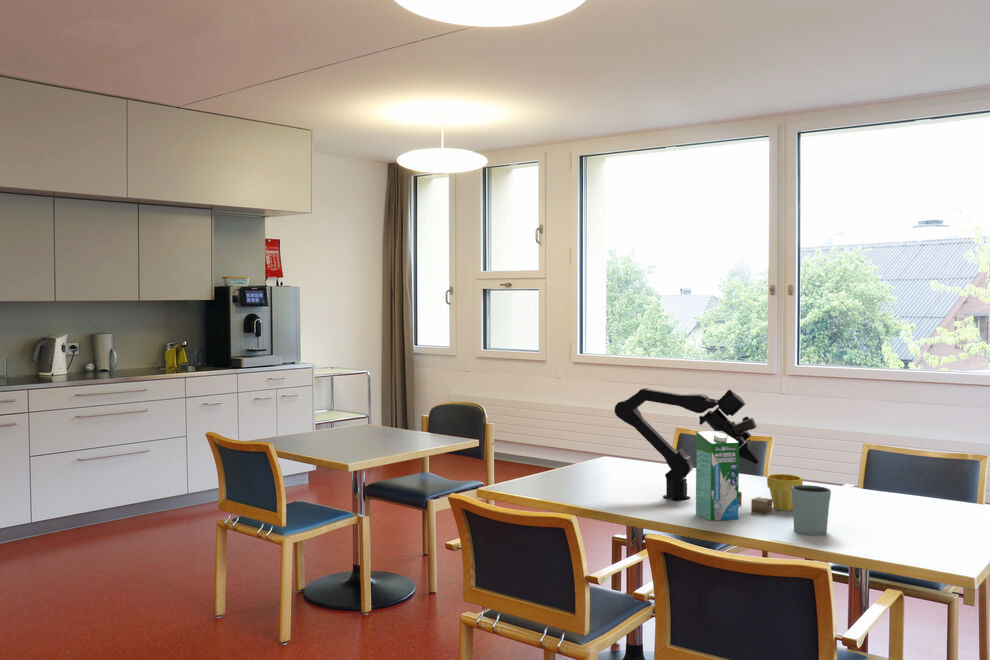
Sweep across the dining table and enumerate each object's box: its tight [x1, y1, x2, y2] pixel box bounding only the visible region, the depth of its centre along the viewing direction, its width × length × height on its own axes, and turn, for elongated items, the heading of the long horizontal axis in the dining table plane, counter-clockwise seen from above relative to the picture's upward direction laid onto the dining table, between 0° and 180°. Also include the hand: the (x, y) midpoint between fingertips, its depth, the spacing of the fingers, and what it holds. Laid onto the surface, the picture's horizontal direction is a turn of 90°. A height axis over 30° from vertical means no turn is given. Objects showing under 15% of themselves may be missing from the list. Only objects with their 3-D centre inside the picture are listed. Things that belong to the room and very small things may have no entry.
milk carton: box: [695, 430, 740, 522], centre depth 242 cm, size 9×9×25 cm
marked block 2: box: [750, 496, 773, 515], centre depth 248 cm, size 4×4×4 cm
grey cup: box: [792, 484, 832, 536], centre depth 225 cm, size 10×10×12 cm
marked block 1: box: [738, 491, 743, 505], centre depth 260 cm, size 4×4×4 cm
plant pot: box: [766, 473, 804, 511], centre depth 253 cm, size 10×10×10 cm
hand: (757, 462), depth 256 cm, fingers closed
